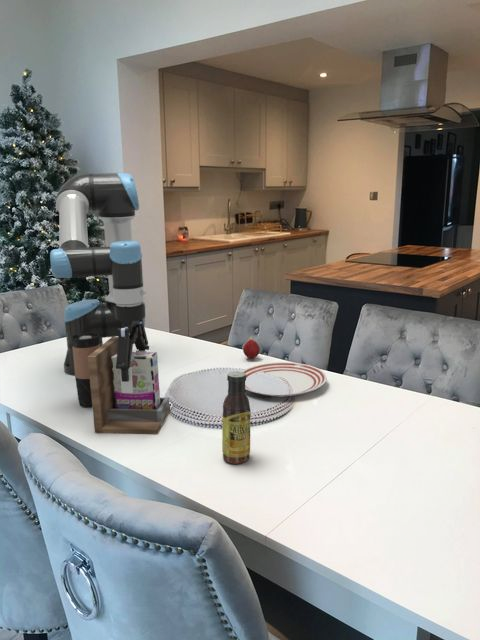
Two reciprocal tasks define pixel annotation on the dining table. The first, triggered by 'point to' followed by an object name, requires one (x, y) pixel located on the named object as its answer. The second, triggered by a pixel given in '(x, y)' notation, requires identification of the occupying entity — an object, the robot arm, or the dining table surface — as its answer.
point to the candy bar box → (138, 382)
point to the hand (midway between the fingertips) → (135, 382)
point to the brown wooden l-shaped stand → (104, 399)
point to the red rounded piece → (251, 349)
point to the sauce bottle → (236, 420)
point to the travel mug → (84, 365)
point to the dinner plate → (291, 376)
